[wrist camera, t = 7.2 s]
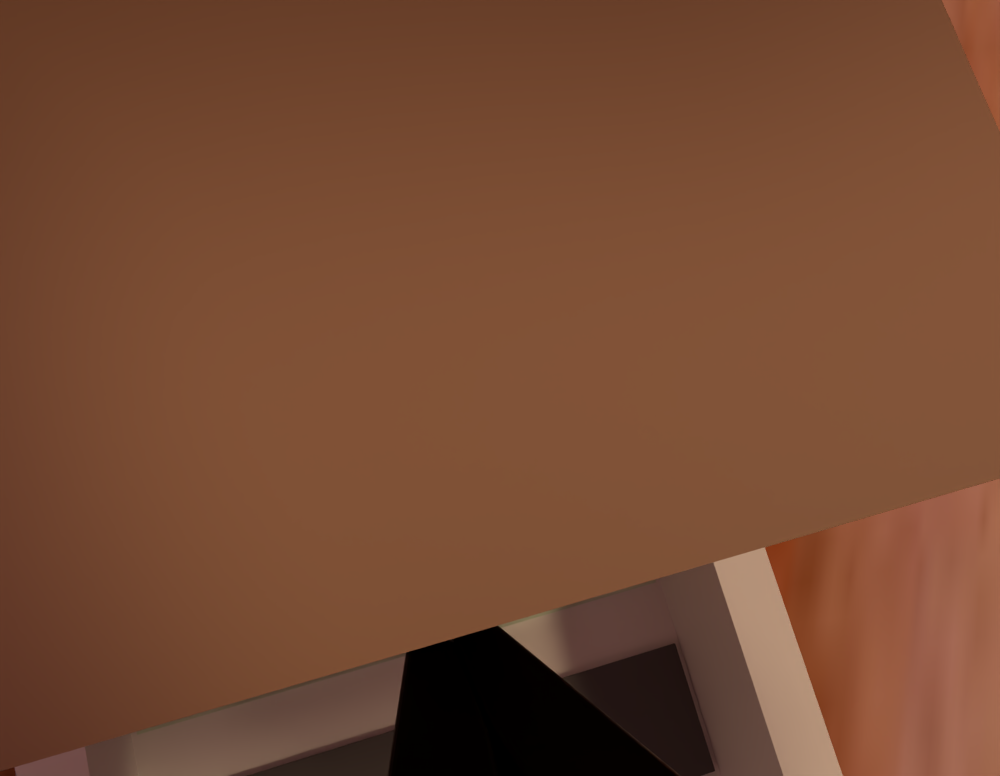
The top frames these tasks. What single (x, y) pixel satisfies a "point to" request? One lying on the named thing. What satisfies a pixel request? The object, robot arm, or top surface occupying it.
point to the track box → (569, 653)
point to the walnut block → (457, 319)
